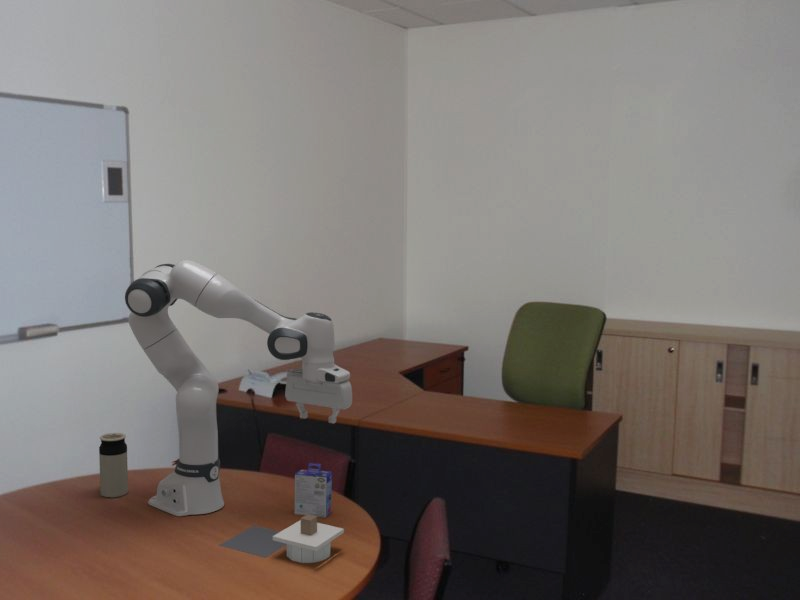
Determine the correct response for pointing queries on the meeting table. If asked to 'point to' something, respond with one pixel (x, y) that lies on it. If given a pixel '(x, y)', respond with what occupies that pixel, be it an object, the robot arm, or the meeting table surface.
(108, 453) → the travel mug
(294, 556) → the bowl
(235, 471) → the meeting table surface
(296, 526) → the lid
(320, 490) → the ink cartridge box
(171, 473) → the robot arm
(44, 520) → the meeting table surface
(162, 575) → the meeting table surface
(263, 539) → the mat
